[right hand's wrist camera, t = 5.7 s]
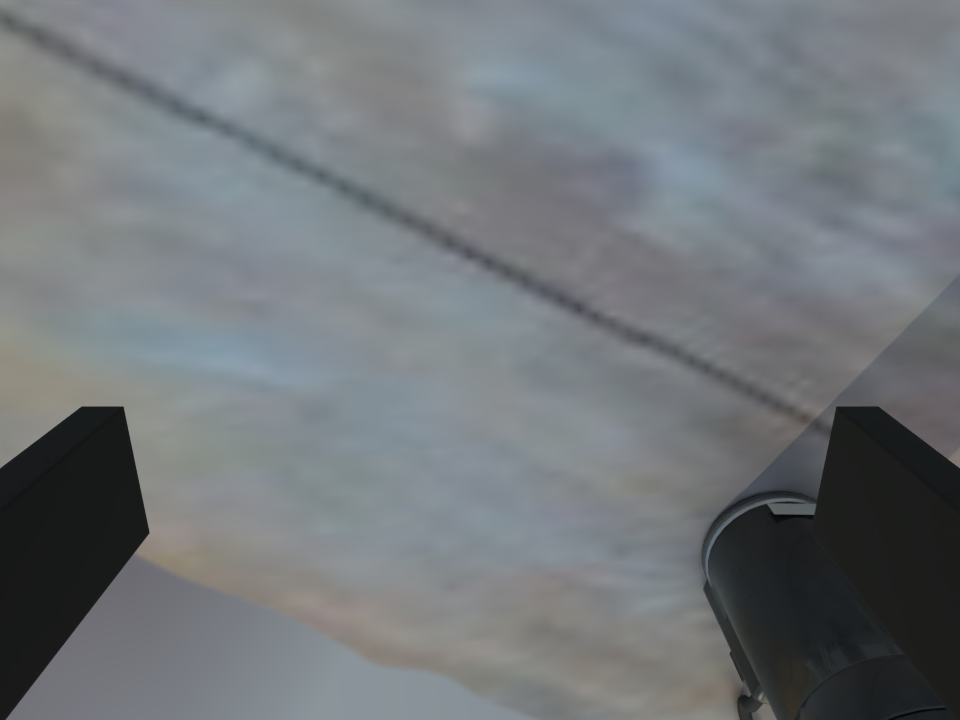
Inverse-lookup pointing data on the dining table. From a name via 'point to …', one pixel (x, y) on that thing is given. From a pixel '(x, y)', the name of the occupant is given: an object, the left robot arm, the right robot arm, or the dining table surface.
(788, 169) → the dining table surface
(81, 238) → the dining table surface
